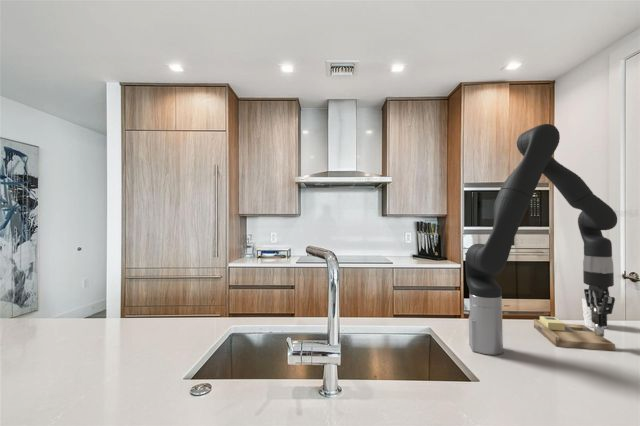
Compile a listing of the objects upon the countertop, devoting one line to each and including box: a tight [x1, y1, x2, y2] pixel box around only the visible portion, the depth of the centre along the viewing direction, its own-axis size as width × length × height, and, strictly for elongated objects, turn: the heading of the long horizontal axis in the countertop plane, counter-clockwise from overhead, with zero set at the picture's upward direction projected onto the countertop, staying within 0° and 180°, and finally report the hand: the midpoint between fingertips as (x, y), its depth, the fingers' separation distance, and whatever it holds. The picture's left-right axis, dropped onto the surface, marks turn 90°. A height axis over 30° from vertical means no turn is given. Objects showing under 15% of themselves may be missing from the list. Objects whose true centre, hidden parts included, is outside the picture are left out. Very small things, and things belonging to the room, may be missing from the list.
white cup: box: [581, 296, 609, 329], centre depth 128 cm, size 8×8×10 cm
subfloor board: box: [533, 318, 616, 352], centre depth 116 cm, size 16×20×3 cm
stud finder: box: [539, 315, 566, 331], centre depth 121 cm, size 5×8×3 cm, turn 165°
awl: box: [592, 306, 605, 338], centre depth 108 cm, size 3×3×9 cm
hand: (599, 323), depth 108 cm, fingers closed on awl, 3 cm apart
